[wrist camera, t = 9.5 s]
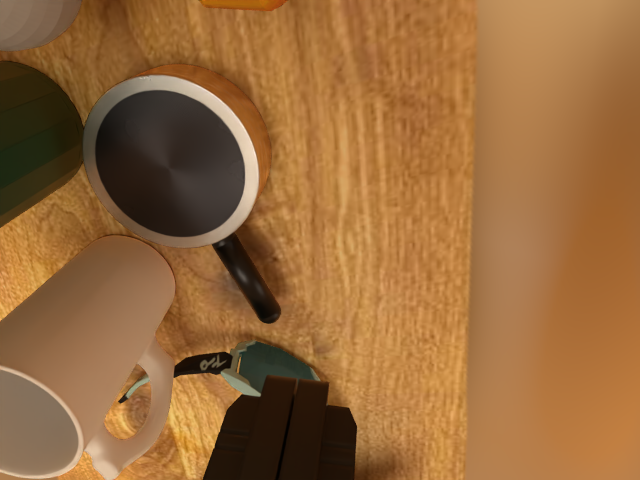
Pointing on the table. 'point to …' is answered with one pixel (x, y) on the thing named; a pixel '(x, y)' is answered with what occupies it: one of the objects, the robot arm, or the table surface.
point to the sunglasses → (241, 367)
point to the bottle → (34, 139)
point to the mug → (84, 360)
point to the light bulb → (34, 22)
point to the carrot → (244, 4)
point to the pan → (183, 165)
